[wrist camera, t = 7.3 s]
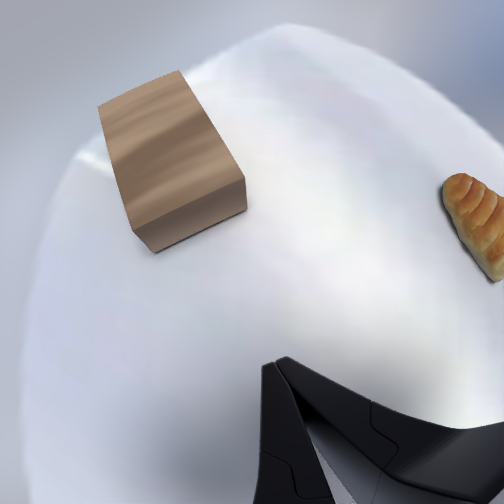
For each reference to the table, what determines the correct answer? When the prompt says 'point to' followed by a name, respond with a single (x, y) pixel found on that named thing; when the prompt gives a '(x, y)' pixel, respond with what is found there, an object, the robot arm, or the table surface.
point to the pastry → (477, 221)
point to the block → (170, 162)
